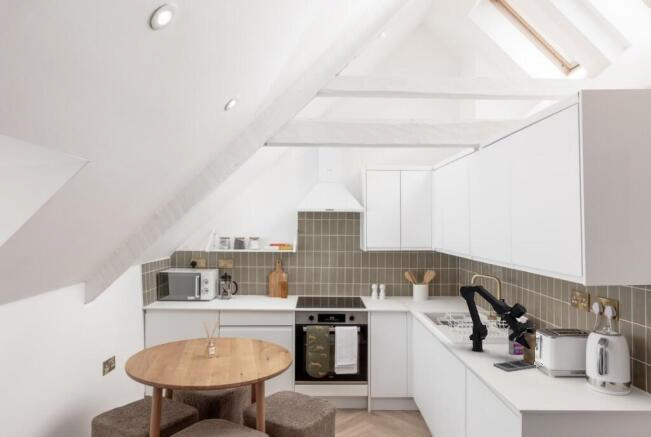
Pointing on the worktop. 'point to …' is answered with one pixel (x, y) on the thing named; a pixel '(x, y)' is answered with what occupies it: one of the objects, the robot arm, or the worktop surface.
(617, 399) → the worktop surface
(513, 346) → the candy bar box
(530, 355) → the walnut block
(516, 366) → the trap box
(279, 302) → the worktop surface
